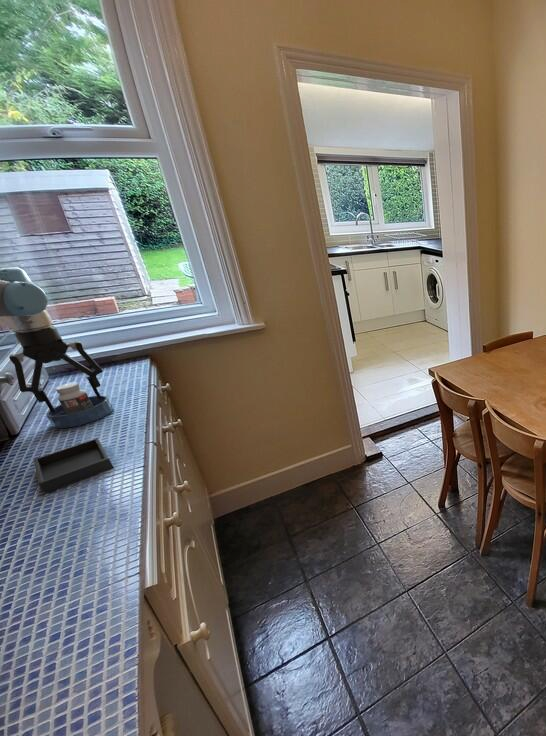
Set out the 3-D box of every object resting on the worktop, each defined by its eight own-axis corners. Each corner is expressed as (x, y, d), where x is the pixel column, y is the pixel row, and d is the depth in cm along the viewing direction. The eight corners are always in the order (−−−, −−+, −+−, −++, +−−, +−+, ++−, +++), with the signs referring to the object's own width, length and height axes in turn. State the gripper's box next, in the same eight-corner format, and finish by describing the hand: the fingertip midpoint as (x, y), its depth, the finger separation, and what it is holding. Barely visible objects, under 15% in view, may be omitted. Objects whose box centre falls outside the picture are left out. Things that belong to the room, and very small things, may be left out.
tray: (39, 468, 96) (33, 459, 95) (102, 446, 104) (97, 437, 102) (45, 493, 87) (38, 483, 86) (113, 467, 94) (108, 458, 93)
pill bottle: (94, 417, 118) (77, 386, 114) (68, 423, 116) (49, 392, 111) (98, 410, 123) (82, 379, 119) (73, 416, 120) (55, 385, 116)
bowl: (55, 433, 111) (47, 421, 109) (52, 420, 119) (44, 408, 117) (116, 415, 120) (110, 402, 118) (109, 403, 128) (103, 391, 126)
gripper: (-30, 342, 98) (21, 423, 108) (91, 320, 113) (127, 393, 122) (-29, 337, 103) (21, 415, 112) (88, 316, 118) (123, 387, 127)
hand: (76, 404), depth 117 cm, fingers open, 9 cm apart
